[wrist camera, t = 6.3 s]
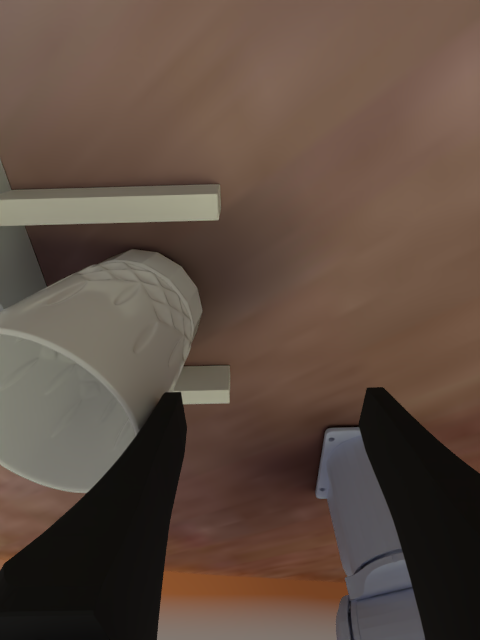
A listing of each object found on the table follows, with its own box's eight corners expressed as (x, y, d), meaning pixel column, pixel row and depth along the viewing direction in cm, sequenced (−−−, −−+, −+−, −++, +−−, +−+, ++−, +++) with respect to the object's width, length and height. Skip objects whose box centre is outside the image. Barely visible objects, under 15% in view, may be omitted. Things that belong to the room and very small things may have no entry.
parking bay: (232, 418, 27) (231, 463, 23) (76, 422, 27) (52, 466, 24) (214, 83, 15) (207, 75, 12) (-60, 92, 15) (-144, 86, 12)
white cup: (75, 315, 22) (-72, 433, 13) (111, 210, 18) (-65, 281, 10) (180, 373, 23) (105, 518, 14) (235, 285, 19) (177, 412, 10)
